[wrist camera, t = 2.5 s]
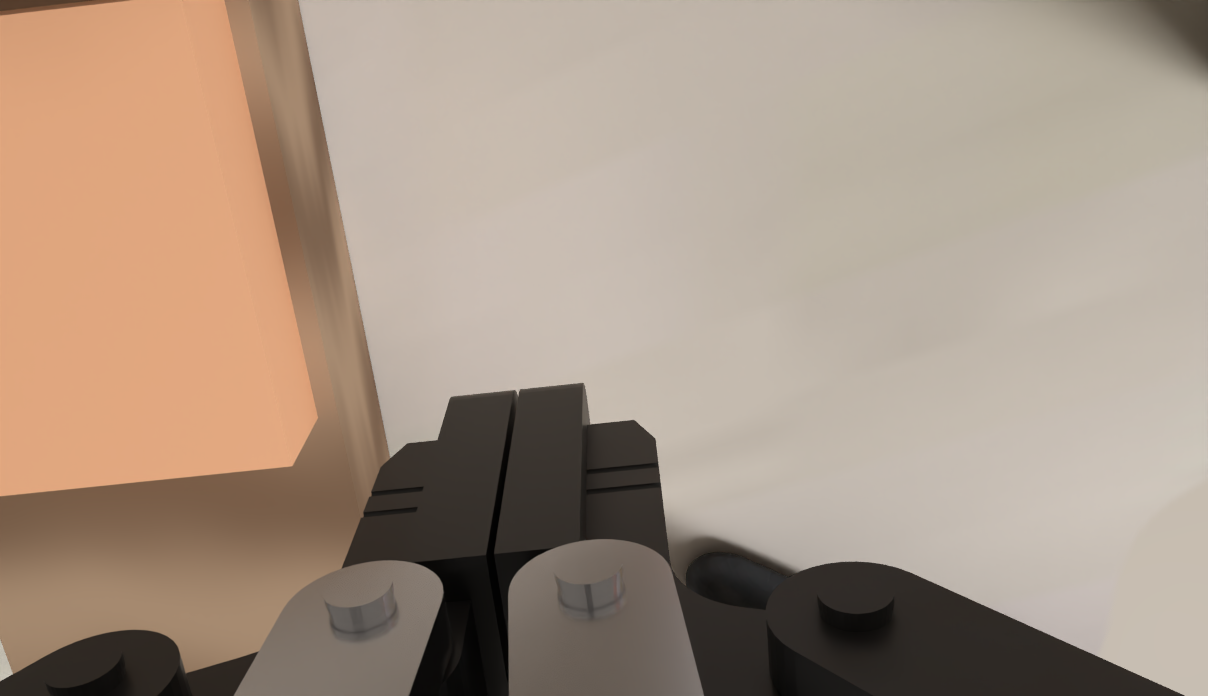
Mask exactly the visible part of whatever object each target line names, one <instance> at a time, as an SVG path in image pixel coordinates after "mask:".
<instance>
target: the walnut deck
mask: <svg viewBox="0 0 1208 696" xmlns="http://www.w3.org/2000/svg"><path fill="white" fill-rule="evenodd" d="M83 1H92V0H0V11H6V10H15V9H23V8H32V7H40V6H49V5H58V4H66V3H75V2H83ZM224 1H225V5H226V10H227V14H228V19H229V23H230V28H231V32H232V37H233V41H234V46H235V50H236V55H237V59H238V63H239V68H240V72H241V77H242V81H243V86H244V90H245V95H246V99H247V104H248V108H249V112H250V117H251V121H252V126H253V130H254V135H255V139H256V144H257V148H258V153H259V157H260V162H261V166H262V170H263V175H264V179H265V184H266V188H267V193H268V197H269V202H270V206H271V211H272V215H273V220H274V224H275V228H276V233H277V237H278V242H279V246H280V251H281V255H282V260H283V264H284V269H285V273H286V277H287V282H288V286H289V291H290V295H291V300H292V304H293V309H294V313H295V318H296V322H297V327H298V331H299V335H300V340H301V344H302V349H303V353H304V358H305V362H306V367H307V371H308V376H309V380H310V384H311V389H312V393H313V398H314V402H315V407H316V411H317V416H318V419H317V421H316V423H315V424H314V426H313V428H312V430H311V432H310V434H309V436H308V438H307V440H306V441H305V443H304V445H303V447H302V449H301V451H300V453H299V455H298V457H297V458H296V460H295V462H294V464H293V466H290V467H281V468H271V469H261V470H251V471H242V472H232V473H222V474H212V475H203V476H193V477H183V478H174V479H164V480H154V481H144V482H135V483H125V484H115V485H105V486H96V487H86V488H76V489H66V490H57V491H47V492H37V493H27V494H18V495H8V496H0V639H1V642H2V645H3V648H4V650H5V653H6V656H7V658H8V661H9V664H10V666H11V669H12V672H13V674H14V673H16V672H18V671H20V670H22V669H23V668H25V667H27V666H29V665H30V664H32V663H34V662H36V661H37V660H39V659H41V658H43V657H45V656H46V655H48V654H50V653H52V652H54V651H56V650H58V649H60V648H62V647H65V646H67V645H69V644H72V643H74V642H77V641H80V640H83V639H86V638H89V637H92V636H96V635H100V634H104V633H108V632H115V631H121V630H148V631H154V632H158V633H161V634H163V635H166V636H168V637H169V638H170V639H172V640H173V641H174V642H175V643H176V645H177V646H178V648H179V652H180V655H181V659H182V662H183V665H184V669H185V672H186V673H188V672H192V671H195V670H199V669H202V668H205V667H209V666H212V665H216V664H219V663H222V662H226V661H229V660H233V659H236V658H240V657H243V656H246V655H249V654H252V653H255V652H258V651H259V650H260V648H261V647H262V645H263V643H264V641H265V640H266V638H267V636H268V634H269V633H270V631H271V629H272V627H273V626H274V624H275V622H276V620H277V619H278V617H279V615H280V613H281V612H282V610H283V608H284V607H285V606H286V604H287V603H288V601H289V600H290V599H291V598H292V597H293V596H294V595H295V594H296V593H297V592H299V591H300V590H301V589H303V588H304V587H305V586H307V585H308V584H310V583H311V582H313V581H315V580H316V579H318V578H320V577H322V576H325V575H327V574H329V573H331V572H334V571H336V570H339V569H341V568H342V566H343V563H344V561H345V558H346V555H347V553H348V550H349V548H350V545H351V542H352V540H353V537H354V535H355V532H356V530H357V527H358V524H359V522H360V519H361V518H362V517H364V515H363V511H364V509H365V506H366V504H367V501H368V498H369V497H371V491H372V488H373V486H374V483H375V480H376V478H377V475H378V473H379V470H380V467H381V466H382V465H383V464H385V463H386V462H387V461H388V460H389V459H390V456H389V451H388V446H387V441H386V436H385V431H384V426H383V421H382V416H381V411H380V406H379V401H378V396H377V391H376V386H375V381H374V376H373V371H372V366H371V361H370V356H369V351H368V346H367V341H366V336H365V331H364V326H363V321H362V316H361V311H360V306H359V301H358V296H357V291H356V286H355V281H354V276H353V272H352V267H351V262H350V257H349V252H348V247H347V242H346V237H345V232H344V227H343V222H342V217H341V212H340V207H339V202H338V197H337V192H336V187H335V182H334V177H333V172H332V167H331V162H330V157H329V152H328V147H327V142H326V137H325V132H324V127H323V122H322V117H321V112H320V107H319V102H318V97H317V92H316V87H315V82H314V77H313V73H312V68H311V63H310V58H309V53H308V48H307V43H306V38H305V33H304V28H303V23H302V18H301V13H300V8H299V3H298V0H224Z"/></svg>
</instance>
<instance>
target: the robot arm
mask: <svg viewBox="0 0 1208 696" xmlns="http://www.w3.org/2000/svg"><path fill="white" fill-rule="evenodd" d="M363 515H364V517H362V518H361V519H360V522H359V524H358V527H357V530H356V532H355V535H354V537H353V540H352V542H351V545H350V548H349V550H348V553H347V555H346V558H345V561H344V563H343V566H342V568H341V569H339V570H336V571H334V572H331V573H329V574H327V575H325V576H322V577H320V578H318V579H316V580H315V581H313V582H311V583H310V584H308V585H307V586H305V587H304V588H303V589H301V590H300V591H299V592H297V593H296V594H295V595H294V596H293V597H292V598H291V599H290V600H289V601H288V603H287V604H286V606H285V607H284V608H283V610H282V612H281V613H280V615H279V617H278V619H277V620H276V622H275V624H274V626H273V627H272V629H271V631H270V633H269V634H268V636H267V638H266V640H265V641H264V643H263V645H262V647H261V648H260V650H259V651H258V652H255V653H252V654H249V655H246V656H243V657H240V658H236V659H233V660H229V661H226V662H222V663H219V664H216V665H212V666H209V667H205V668H202V669H199V670H195V671H192V672H188V673H186V672H185V669H184V665H183V662H182V659H181V655H180V652H179V648H178V646H177V645H176V643H175V642H174V641H173V640H172V639H170V638H169V637H168V636H166V635H163V634H161V633H158V632H154V631H148V630H121V631H115V632H108V633H104V634H100V635H96V636H92V637H89V638H86V639H83V640H80V641H77V642H74V643H72V644H69V645H67V646H65V647H62V648H60V649H58V650H56V651H54V652H52V653H50V654H48V655H46V656H45V657H43V658H41V659H39V660H37V661H36V662H34V663H32V664H30V665H29V666H27V667H25V668H23V669H22V670H20V671H18V672H16V673H14V674H13V675H11V676H9V677H7V678H6V679H4V680H2V681H0V696H1184V695H1182V694H1180V693H1178V692H1175V691H1173V690H1171V689H1169V688H1166V687H1164V686H1162V685H1159V684H1157V683H1155V682H1153V681H1150V680H1149V679H1146V678H1144V677H1142V676H1140V675H1137V674H1135V673H1133V672H1131V671H1128V670H1126V669H1124V668H1122V667H1120V666H1117V665H1115V664H1113V663H1111V662H1108V661H1106V660H1104V659H1102V658H1100V657H1097V656H1095V655H1093V654H1091V653H1088V652H1086V651H1084V650H1082V649H1079V648H1077V647H1075V646H1073V645H1071V644H1068V643H1066V642H1064V641H1062V640H1059V639H1057V638H1055V637H1053V636H1050V635H1048V634H1046V633H1044V632H1042V631H1039V630H1037V629H1035V628H1033V627H1030V626H1028V625H1026V624H1024V623H1021V622H1019V621H1017V620H1015V619H1013V618H1010V617H1008V616H1006V615H1004V614H1001V613H999V612H997V611H995V610H993V609H990V608H988V607H986V606H984V605H981V604H979V603H977V602H975V601H972V600H970V599H968V598H966V597H964V596H961V595H959V594H957V593H955V592H952V591H950V590H948V589H946V588H943V587H941V586H939V585H937V584H935V583H932V582H930V581H928V580H926V579H923V578H921V577H919V576H917V575H914V574H912V573H910V572H907V571H904V570H902V569H899V568H895V567H891V566H887V565H883V564H876V563H869V562H838V563H830V564H824V565H820V566H815V567H812V568H809V569H806V570H803V571H800V572H798V573H796V574H794V575H793V576H791V577H789V578H787V579H786V580H785V581H783V582H782V583H780V584H779V585H778V587H777V588H776V589H775V590H774V591H773V592H772V594H771V595H770V597H769V599H768V602H767V605H766V610H762V609H753V608H744V607H738V606H731V605H727V604H723V603H719V602H715V601H713V600H710V599H707V598H705V597H702V596H700V595H699V594H697V593H695V592H693V591H691V590H690V589H689V588H687V587H686V586H685V585H683V584H682V583H681V582H680V580H679V579H678V578H677V577H676V576H675V574H674V572H673V570H672V568H671V564H670V559H669V550H668V542H667V533H666V525H665V516H664V508H663V499H662V491H661V483H660V474H659V466H658V457H657V449H656V440H655V438H654V437H653V436H652V435H651V434H649V433H648V432H647V431H646V430H645V429H644V428H643V427H641V426H640V425H639V424H638V423H637V422H636V421H635V420H630V421H620V422H610V423H601V424H591V425H590V419H589V411H588V403H587V396H586V390H585V385H584V383H578V384H568V385H559V386H549V387H539V388H530V389H520V391H519V396H518V395H517V392H516V391H515V390H512V391H502V392H493V393H483V394H473V395H464V396H454V397H451V398H450V400H449V403H448V407H447V410H446V413H445V417H444V420H443V424H442V427H441V430H440V434H439V437H438V440H436V441H426V442H417V443H408V444H406V445H405V446H404V447H403V448H402V449H401V450H399V451H398V452H397V453H396V454H395V455H394V456H393V457H391V458H390V459H389V460H388V461H387V462H386V463H385V464H383V465H382V466H381V467H380V470H379V473H378V475H377V478H376V480H375V483H374V486H373V488H372V491H371V497H369V498H368V501H367V504H366V506H365V509H364V511H363Z"/></svg>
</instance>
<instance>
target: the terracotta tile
mask: <svg viewBox="0 0 1208 696" xmlns="http://www.w3.org/2000/svg"><path fill="white" fill-rule="evenodd" d="M317 419H318V416H317V411H316V407H315V402H314V398H313V393H312V389H311V384H310V380H309V376H308V371H307V367H306V362H305V358H304V353H303V349H302V344H301V340H300V335H299V331H298V327H297V322H296V318H295V313H294V309H293V304H292V300H291V295H290V291H289V286H288V282H287V277H286V273H285V269H284V264H283V260H282V255H281V251H280V246H279V242H278V237H277V233H276V228H275V224H274V220H273V215H272V211H271V206H270V202H269V197H268V193H267V188H266V184H265V179H264V175H263V170H262V166H261V162H260V157H259V153H258V148H257V144H256V139H255V135H254V130H253V126H252V121H251V117H250V112H249V108H248V104H247V99H246V95H245V90H244V86H243V81H242V77H241V72H240V68H239V63H238V59H237V55H236V50H235V46H234V41H233V37H232V32H231V28H230V23H229V19H228V14H227V10H226V5H225V1H224V0H92V1H83V2H75V3H66V4H58V5H49V6H40V7H32V8H23V9H15V10H6V11H0V496H8V495H18V494H27V493H37V492H47V491H57V490H66V489H76V488H86V487H96V486H105V485H115V484H125V483H135V482H144V481H154V480H164V479H174V478H183V477H193V476H203V475H212V474H222V473H232V472H242V471H251V470H261V469H271V468H281V467H290V466H293V464H294V462H295V460H296V458H297V457H298V455H299V453H300V451H301V449H302V447H303V445H304V443H305V441H306V440H307V438H308V436H309V434H310V432H311V430H312V428H313V426H314V424H315V423H316V421H317Z"/></svg>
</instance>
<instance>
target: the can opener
mask: <svg viewBox="0 0 1208 696" xmlns="http://www.w3.org/2000/svg"><path fill="white" fill-rule="evenodd" d="M787 578H788V577H786V576H784V575H782V574H780V573H778V572H776V571H773V570H771V569H768V568H766V567H764V566H762V565H760V564H757V563H755V562H752V561H750V560H748V559H746V558H744V557H741V556H739V555H735V554H730V553H722V552H716V553H708V554H706V555H703V556H701V557H699V558H697V559H696V560H695V561H694V562H692V563H691V564H690V566H689V568H688V570H687V573H686V585H687V588H689V589H690V590H691V591H693V592H695V593H697V594H699V595H700V596H702V597H705V598H707V599H710V600H713V601H715V602H719V603H723V604H727V605H731V606H738V607H744V608H753V609H762V610H766V605H767V602H768V599H769V597H770V595H771V594H772V592H773V591H774V590H775V589H776V588H777V587H778V585H779V584H780V583H782V582H783V581H785V580H786V579H787Z"/></svg>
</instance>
